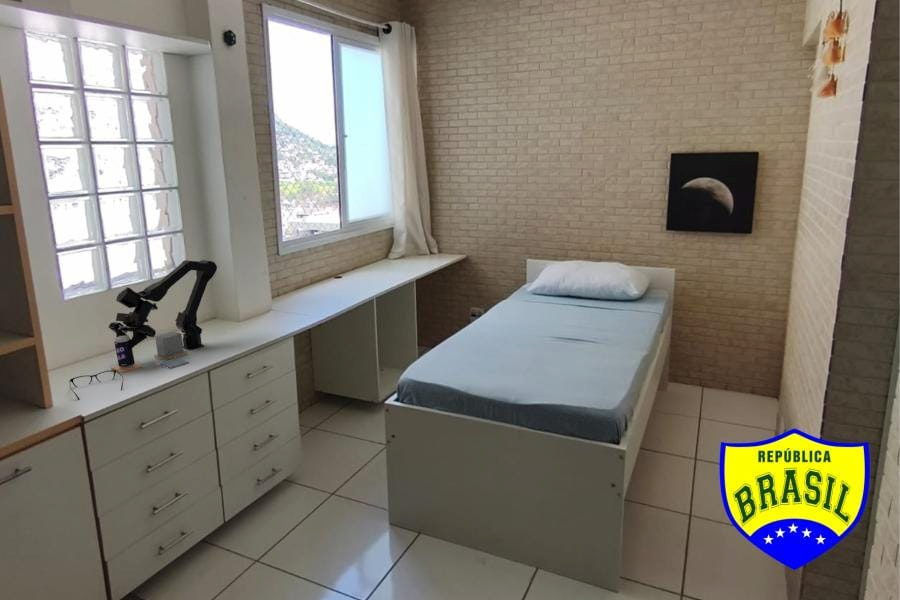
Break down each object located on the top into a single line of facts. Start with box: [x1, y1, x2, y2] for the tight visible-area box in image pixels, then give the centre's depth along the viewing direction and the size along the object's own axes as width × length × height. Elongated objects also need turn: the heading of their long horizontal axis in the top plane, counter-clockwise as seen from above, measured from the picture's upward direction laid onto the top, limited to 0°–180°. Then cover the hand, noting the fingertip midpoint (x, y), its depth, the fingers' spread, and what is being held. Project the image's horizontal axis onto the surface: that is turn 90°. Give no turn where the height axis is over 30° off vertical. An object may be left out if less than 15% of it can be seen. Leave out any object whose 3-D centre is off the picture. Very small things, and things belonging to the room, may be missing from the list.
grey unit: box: [153, 331, 188, 361], centre depth 252 cm, size 10×8×9 cm
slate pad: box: [159, 357, 190, 369], centre depth 243 cm, size 8×8×1 cm
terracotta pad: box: [111, 362, 143, 374], centre depth 239 cm, size 8×8×1 cm
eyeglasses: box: [68, 369, 124, 401], centre depth 218 cm, size 16×16×4 cm
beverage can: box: [113, 334, 136, 368], centre depth 238 cm, size 6×6×12 cm
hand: (122, 348), depth 237 cm, fingers closed on beverage can, 6 cm apart
